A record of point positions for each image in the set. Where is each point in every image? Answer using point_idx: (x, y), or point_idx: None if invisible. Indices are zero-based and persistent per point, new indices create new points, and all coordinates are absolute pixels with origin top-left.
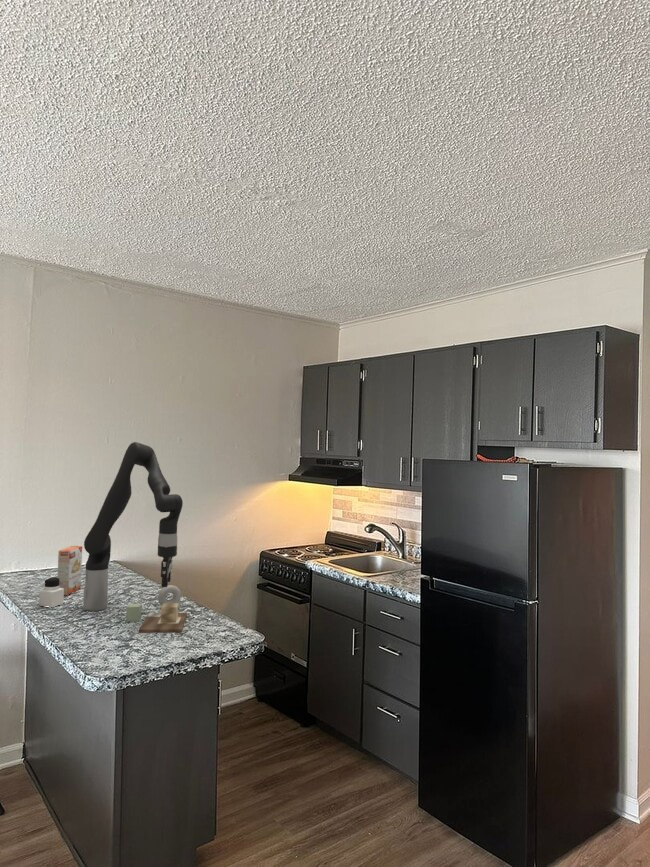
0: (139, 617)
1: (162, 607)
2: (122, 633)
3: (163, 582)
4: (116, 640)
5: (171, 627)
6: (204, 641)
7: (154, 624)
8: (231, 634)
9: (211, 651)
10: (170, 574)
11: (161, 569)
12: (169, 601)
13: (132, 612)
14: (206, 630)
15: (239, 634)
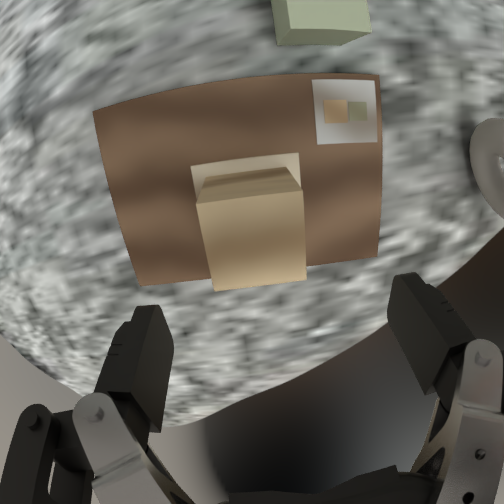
0: (296, 42)
1: (198, 213)
2: (86, 47)
3: (110, 362)
4: (16, 76)
5: (150, 244)
6: (91, 349)
7: (178, 153)
8: (169, 394)
9: (46, 363)
10: (418, 380)
11: (1, 496)
12: (487, 166)
13: (279, 2)
14: (186, 345)
15: (174, 406)
